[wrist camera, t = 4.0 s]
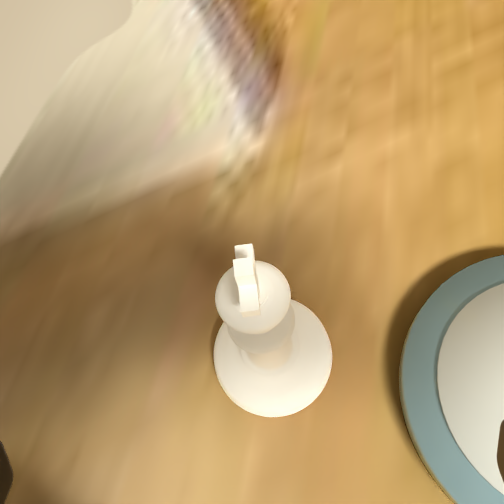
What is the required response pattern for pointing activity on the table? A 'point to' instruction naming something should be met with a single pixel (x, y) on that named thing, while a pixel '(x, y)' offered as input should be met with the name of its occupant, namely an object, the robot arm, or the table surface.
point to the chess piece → (267, 340)
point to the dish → (458, 383)
